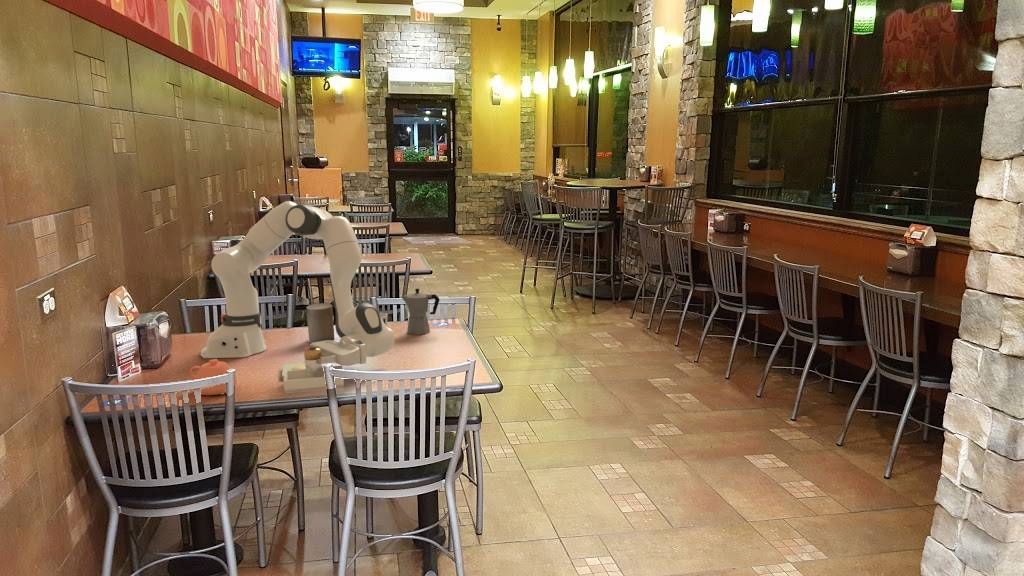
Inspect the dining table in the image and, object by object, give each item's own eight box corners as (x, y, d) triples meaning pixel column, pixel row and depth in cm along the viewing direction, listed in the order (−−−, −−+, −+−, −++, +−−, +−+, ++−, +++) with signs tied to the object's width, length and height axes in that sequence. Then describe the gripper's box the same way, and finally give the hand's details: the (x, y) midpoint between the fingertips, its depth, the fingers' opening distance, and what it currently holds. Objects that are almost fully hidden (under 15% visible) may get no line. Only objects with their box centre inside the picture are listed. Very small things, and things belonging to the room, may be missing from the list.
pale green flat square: (282, 380, 224) (281, 375, 224) (283, 368, 236) (283, 364, 235) (320, 376, 228) (320, 372, 227) (320, 365, 239) (319, 361, 239)
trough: (284, 393, 212) (283, 381, 211) (285, 382, 222) (285, 370, 221) (344, 388, 217) (343, 375, 216) (342, 377, 227) (341, 365, 226)
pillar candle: (337, 337, 275) (335, 299, 272) (330, 343, 265) (328, 305, 262) (313, 337, 275) (310, 300, 272) (305, 344, 266) (302, 305, 263)
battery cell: (306, 385, 216) (303, 348, 214) (306, 380, 221) (303, 344, 219) (323, 384, 218) (320, 347, 215) (322, 378, 222) (320, 342, 220)
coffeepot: (400, 335, 277) (398, 290, 274) (404, 329, 287) (403, 286, 283) (438, 335, 277) (437, 291, 273) (441, 329, 286) (440, 286, 282)
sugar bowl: (230, 398, 209) (227, 365, 207) (182, 399, 208) (178, 366, 206) (242, 384, 221) (240, 353, 219) (197, 385, 220) (194, 354, 218)
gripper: (332, 333, 234) (295, 341, 224) (367, 345, 220) (329, 354, 210) (333, 351, 235) (296, 360, 225) (368, 364, 221) (330, 374, 211)
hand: (312, 357), depth 218 cm, fingers open, 8 cm apart
